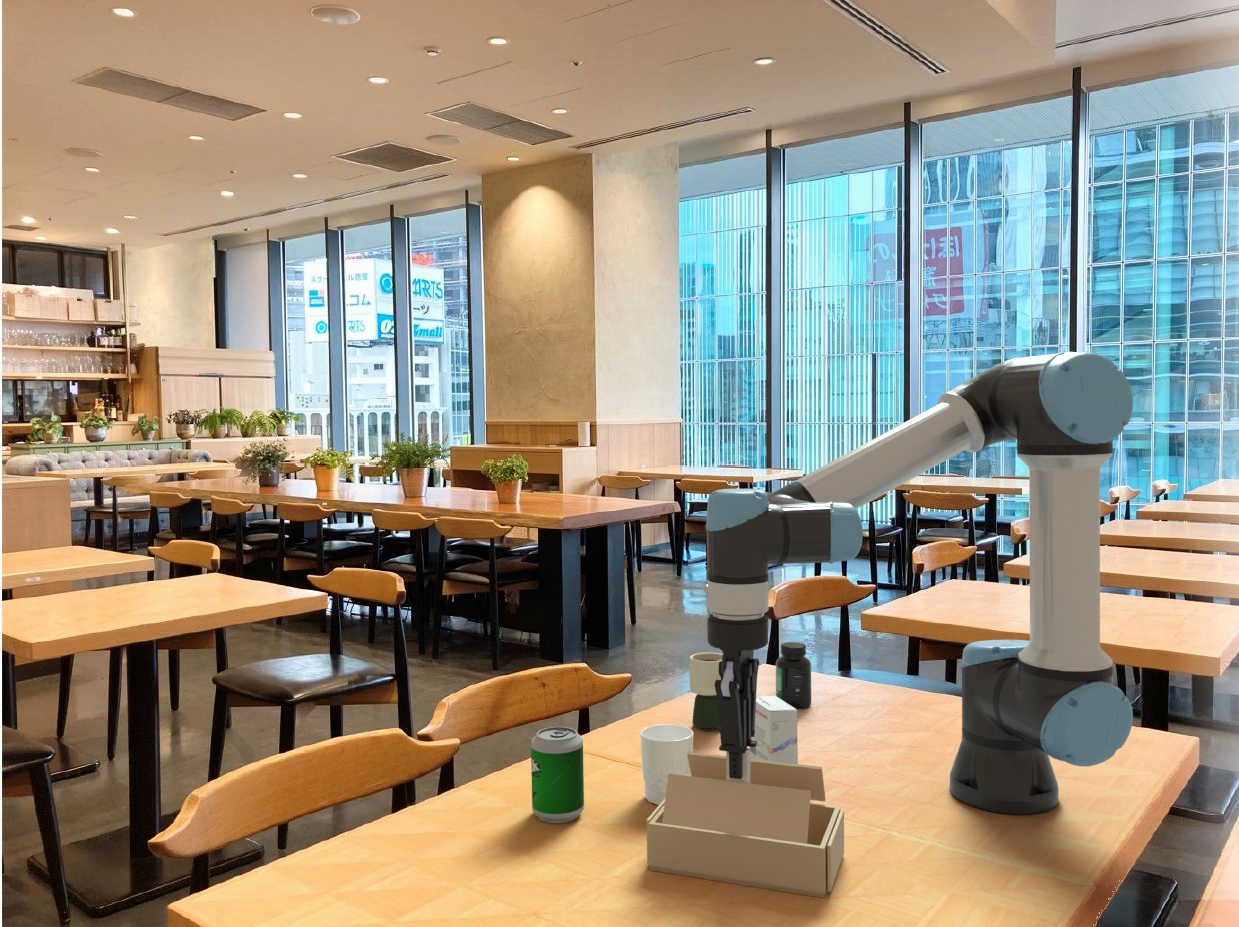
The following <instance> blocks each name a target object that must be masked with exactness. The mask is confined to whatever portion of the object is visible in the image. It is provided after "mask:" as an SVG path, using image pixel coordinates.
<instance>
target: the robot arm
mask: <svg viewBox="0 0 1239 927" xmlns="http://www.w3.org/2000/svg"><path fill="white" fill-rule="evenodd" d="M1133 410H1134V398H1133V392H1132V388H1131V385H1130V383H1129V380H1128V378H1127V377H1126V374H1125V373H1124V372H1123V371H1122V369H1120V368H1119V367H1118V366H1117V365H1116V364H1115V363H1114V362H1113V360H1110V359H1109V358H1108V357H1106V356H1104V355H1101V354H1098V353H1093V352H1079V351H1078V352H1075V351H1070V350H1069V351H1066V352H1058V353H1051V354H1041V355H1035V356H1021V357H1014V358H1010V359H1008V360H1005V361H1002V362H1000V363H997V364H995V365H993V366H991V367H990V368H988V369H985V370H984V371H982V372H980V373H978V374H977V375H975V376H973V377H971V378H970V379H968V380H966V381H964V382H962V383H960V384H959V385H957V386H955V387H953V388H951V389H950V390H947V391H946V392H944V393H941V395H940V396H939V398H938V400H937V405H934V406H933V407H931V408H929V409H927V410H925V411H924V412H923V411H922V413H920V414H918V415H915V416H914V417H913V418H910V419H908V420H907V421H905V422H902V423H901V424H899V425H897V426H895V427H893V428H892V429H890V430H888V431H886V432H884V433H883V434H881V435H879V436H877V437H875V438H873V439H871V440H869V441H868V442H865V443H864V444H862V445H860V446H858V447H856V448H855V449H853V450H851V451H849V452H847V453H845V454H842V455H841V456H839V457H838V458H835V459H834V460H832V461H830V462H828V463H826V464H824V465H822V466H821V467H819V468H816V469H815V470H813V471H811V472H810V473H808V474H806V475H804V476H802V477H800V478H798V479H796V480H795V481H792V482H791V483H788V484H787V485H785V486H783V487H781V488H779V489H777V490H775V491H774V492H773V491H772V492H771V491H770V492H769V491H767V492H766V491H765V490H762V489H757V488H723V489H717V490H714V491H712V492H711V493H710V495H709V496H708V498H707V508H706V520H705V521H706V522H705V523H706V524H705V530H706V554H707V555H706V557H707V558H706V559H707V560H706V563H707V565H706V566H707V584H706V585H704V586H703V589H702V590H703V592H704V593H706V594H707V610H708V611H709V612H710V614H709V616H707V621H706V623H707V625H706V626H707V627H706V628H707V630H706V631H707V632H706V633H707V636H706V637H707V640H706V641H707V643H708V644H709V646H710V647H712V648H715V649H719V650H721V652H722V654H723V655H722V661H720V662H719V675H720V677H721V680H716V681H715V690H716V694H717V700H718V713H719V726H720V727H719V736H720V744H719V745H720V746H718V750H719V751H721V752H725V756H726V781H734V782H742V783H750V748H749V747H756V746H757V741H754V740H751V737H754V734H755V710H756V697H757V689H758V688H757V687H758V686H757V684H758V674H759V673H758V672H759V666H760V660H759V658H755V657H754V653H755V652H754V651H757V650H761V649H763V648H765V647H767V646H768V642H769V618H768V617H767V615H766V614H765V613H767V612H768V611H769V610H770V609H769V608H770V606H769V566H770V565H774V566H775V565H776V566H777V565H786V564H792V565H793V564H818V563H819V564H821V563H822V564H823V563H826V564H827V563H829V564H834V563H837V562H839V563H840V562H846V561H851V560H853V559H855V558H856V557H857V556H858V554H859V553H860V551H861V548H862V545H863V533H864V532H863V523H862V520H861V516H860V513H859V512H858V510H857V509H859V508H861V507H862V506H865V505H867V504H868V503H870V502H872V501H874V500H876V499H878V498H880V497H881V496H883V495H885V494H886V493H888V492H889V493H890V491H892V490H894V489H896V488H898V487H899V486H902V485H903V484H905V483H907V482H909V481H911V480H913V479H915V478H917V477H918V476H919V475H922V474H923V473H926V472H927V471H929V470H931V469H934V468H935V467H937V466H938V465H940V464H942V463H944V462H946V461H947V460H949V459H952V458H953V457H955V456H957V455H960V454H961V453H963V452H964V451H965V452H969V453H973V454H974V453H978V452H979V451H981V450H983V449H985V448H987V447H989V446H992V445H994V444H997V443H1001V442H1007V441H1016V456H1017V457H1018V458H1019V459H1020V460H1021V461H1022V462H1023V463H1024V464H1025V465H1026V466H1027V467H1028V468H1027V469H1028V470H1029V471H1028V472H1029V485H1028V486H1029V491H1028V492H1029V505H1028V506H1029V640H1026V639H1025V640H1023V639H989V640H979V641H973V642H970V643H968V644H967V645H965V647H964V648H963V652H962V659H961V665H960V670H961V730H962V731H961V742H960V744H959V747H958V750H957V753H956V755H955V759H954V761H953V764H952V766H951V769H950V771H949V772H950V773H949V791H950V793H951V794H952V795H953V797H955V798H956V799H957V800H959V801H960V802H963V803H965V804H967V805H969V806H972V807H974V808H977V809H980V810H981V809H982V810H985V811H990V812H995V813H1002V814H1010V815H1031V814H1040V813H1044V812H1045V813H1046V812H1048V811H1051V810H1053V809H1054V808H1056V806H1058V803H1059V784H1058V781H1057V778H1056V774H1055V772H1054V769H1053V766H1052V762H1051V759H1050V757H1051V758H1053V759H1054V760H1058V761H1062V762H1065V763H1068V764H1069V765H1071V766H1075V767H1086V768H1088V767H1093V766H1097V765H1099V764H1102V763H1104V762H1106V761H1108V760H1110V759H1111V758H1112V757H1114V756H1115V755H1116V753H1117V752H1118V750H1119V749H1122V747H1123V746H1124V745H1125V743H1126V742H1127V740H1128V738H1129V736H1130V733H1131V731H1132V727H1133V719H1134V714H1133V713H1134V711H1133V707H1132V704H1131V702H1130V700H1129V698H1128V696H1126V695H1125V694H1124V692H1123V691H1122V689H1121V688H1120V687H1118V686H1116V685H1115V684H1114V663H1113V659H1112V658H1111V657H1110V656H1109V654H1107V653H1106V651H1104V650H1103V649H1102V647H1101V531H1100V530H1101V523H1100V522H1101V511H1100V509H1101V507H1100V506H1101V504H1100V503H1101V500H1100V499H1101V494H1100V493H1101V492H1100V491H1101V484H1100V483H1101V482H1100V480H1101V478H1100V476H1101V474H1100V473H1101V472H1100V471H1101V468H1102V466H1103V465H1104V464H1105V463H1106V462H1107V461H1108V460H1109V459H1110V458H1111V457H1112V456H1114V451H1113V450H1114V449H1113V448H1114V447H1113V445H1114V444H1113V443H1114V441H1113V440H1114V439H1115V438H1118V436H1119V435H1121V434H1122V433H1123V432H1124V429H1125V428H1124V427H1126V425H1129V422H1130V421H1131V417H1132V413H1133Z"/></svg>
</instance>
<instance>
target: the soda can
mask: <svg viewBox="0 0 1239 927" xmlns="http://www.w3.org/2000/svg"><path fill="white" fill-rule="evenodd" d="M530 761H531V762H530V763H531V765H530V766H531V772H530V773H531V809H532V812H533V813H534V814H535V815H536V816H537V817H538V819H539V820H540V821H542V822H544V823H548V824H563V823H564V824H565V823H568V822H573V821H574V820H576V819H577V818H578V817H579V815H580V814H581V813H582V812H583V811H584V809H585V788H584V786H585V783H584V776H585V775H584V774H585V773H584V738H583V736H582V735H580V734H579V733H578V731H577V730H576V729H575V728H572V727H567V726H551V727H545V728H542V729H539V730H538V731H537V732H536V735H535V736H533V737H532V738H531V741H530Z"/></svg>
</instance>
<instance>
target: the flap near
mask: <svg viewBox="0 0 1239 927" xmlns="http://www.w3.org/2000/svg"><path fill="white" fill-rule="evenodd" d="M810 798H811V791H807V790H799V789H791V788H783V787H775V786H766V785H758V784H750V783H742V782H734V781H725V780H717V779H709V778H701V777H693V776H684V775H676V774H668V782H667V789H666V797H665V805H664V812H663V820H662V823H663V824H671V825H678V826H685V827H692V828H699V829H706V830H713V831H720V832H727V833H734V834H741V835H748V836H756V837H763V838H770V839H777V840H784V841H791V842H798V843H805V844H807V838H808V825H809V812H810V803H811V800H810Z"/></svg>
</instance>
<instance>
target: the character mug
mask: <svg viewBox="0 0 1239 927" xmlns="http://www.w3.org/2000/svg"><path fill="white" fill-rule="evenodd" d="M722 655H723V653H719V652H698V653H694V654H692V655H690V656H689V691H690V692H691V693H693V694H695V697H694V703H693V712H692V726H694V727H696V728H701V729H711V728H715V729H716V728H720V726H719V713H718V700H717V694H716V690H715V681H716V680H721V677H720V675H719V662H720V661H722Z"/></svg>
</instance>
